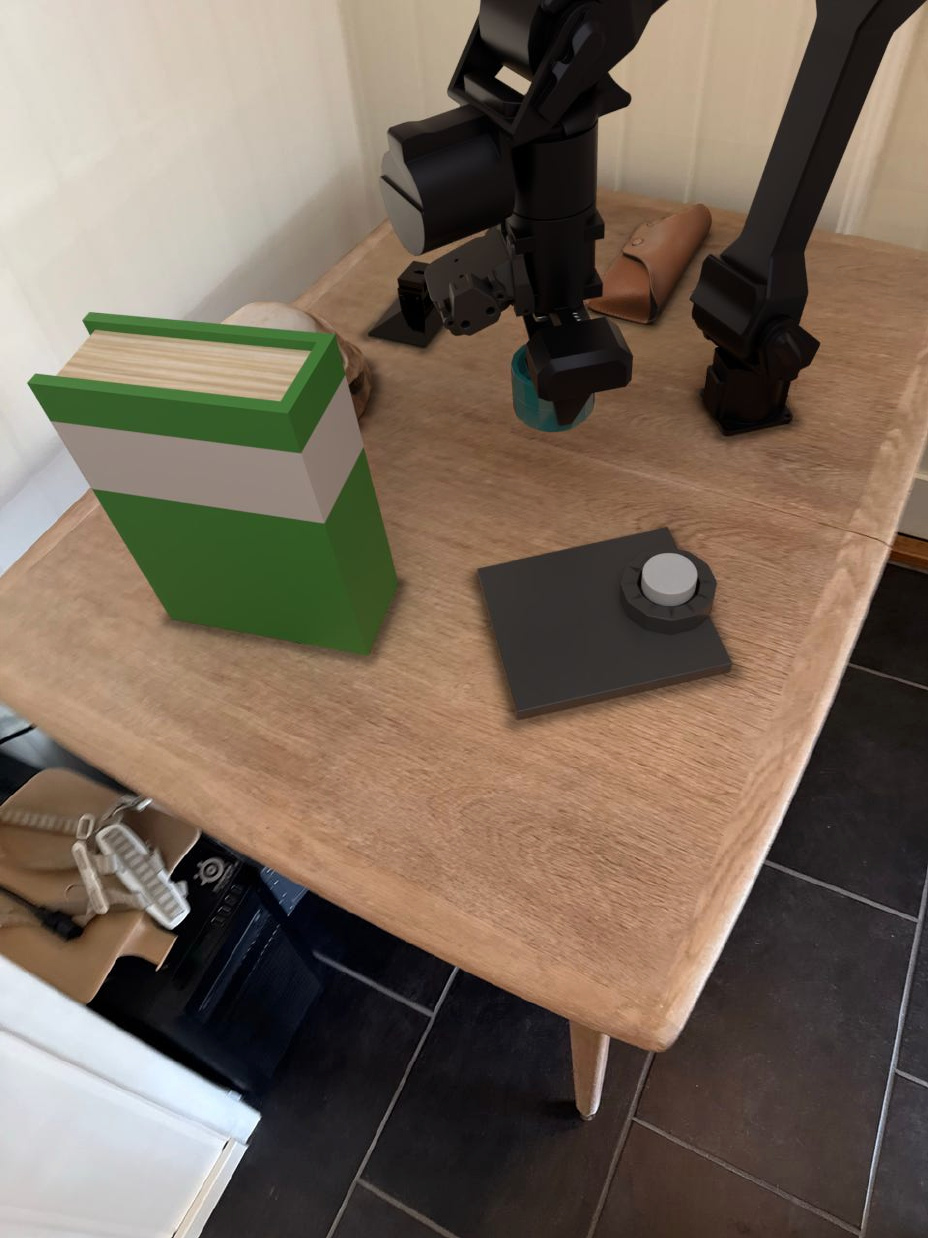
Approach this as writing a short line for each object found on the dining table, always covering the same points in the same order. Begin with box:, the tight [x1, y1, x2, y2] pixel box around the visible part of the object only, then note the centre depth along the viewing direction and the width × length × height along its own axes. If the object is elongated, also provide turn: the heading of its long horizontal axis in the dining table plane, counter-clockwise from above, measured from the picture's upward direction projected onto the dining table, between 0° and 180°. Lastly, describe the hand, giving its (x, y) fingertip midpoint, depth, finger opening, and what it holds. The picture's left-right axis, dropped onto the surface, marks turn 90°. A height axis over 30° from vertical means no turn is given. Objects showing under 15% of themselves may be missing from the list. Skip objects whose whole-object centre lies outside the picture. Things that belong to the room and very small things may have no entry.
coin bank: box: [219, 301, 373, 421], centre depth 82 cm, size 16×17×13 cm
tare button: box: [641, 553, 697, 606], centre depth 66 cm, size 4×4×2 cm
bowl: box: [510, 343, 596, 433], centre depth 67 cm, size 6×6×4 cm
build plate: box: [367, 260, 444, 349], centre depth 94 cm, size 12×7×5 cm, turn 154°
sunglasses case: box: [584, 203, 713, 325], centre depth 94 cm, size 18×7×7 cm
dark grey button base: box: [476, 526, 733, 721], centre depth 67 cm, size 17×14×3 cm
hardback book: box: [26, 311, 400, 656], centre depth 63 cm, size 18×7×24 cm, turn 74°
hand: (554, 396), depth 68 cm, fingers closed on bowl, 6 cm apart
